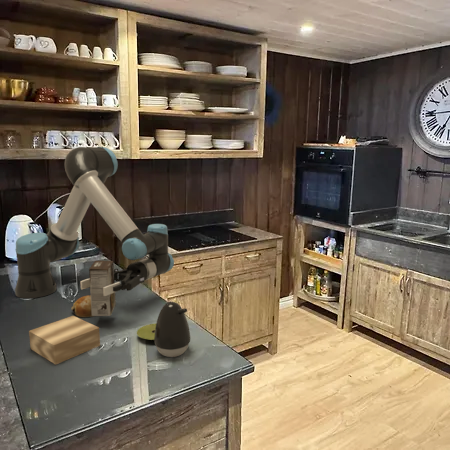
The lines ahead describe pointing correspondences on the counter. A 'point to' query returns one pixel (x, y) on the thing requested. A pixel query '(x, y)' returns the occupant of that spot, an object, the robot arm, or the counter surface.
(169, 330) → the pump dispenser
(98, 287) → the coffee box
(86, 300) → the bread roll
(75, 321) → the oak block
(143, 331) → the green textured disc
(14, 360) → the counter surface
